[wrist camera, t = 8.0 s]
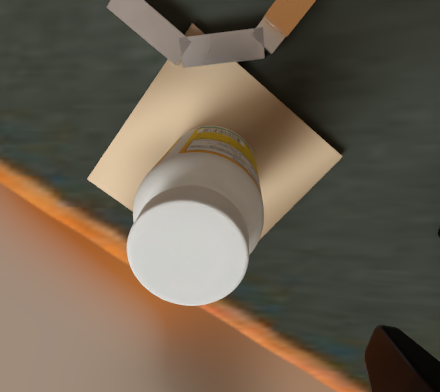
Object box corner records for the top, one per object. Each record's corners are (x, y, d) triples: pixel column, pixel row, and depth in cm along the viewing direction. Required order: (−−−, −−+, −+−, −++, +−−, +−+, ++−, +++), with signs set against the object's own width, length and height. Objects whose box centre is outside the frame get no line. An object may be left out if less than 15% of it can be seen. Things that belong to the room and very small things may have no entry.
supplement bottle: (234, 108, 18) (231, 147, 9) (269, 190, 19) (297, 294, 10) (151, 147, 19) (72, 217, 10) (191, 221, 20) (156, 339, 11)
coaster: (340, 154, 19) (342, 156, 18) (223, 271, 22) (223, 275, 22) (193, 24, 17) (192, 23, 16) (90, 176, 20) (87, 179, 20)
